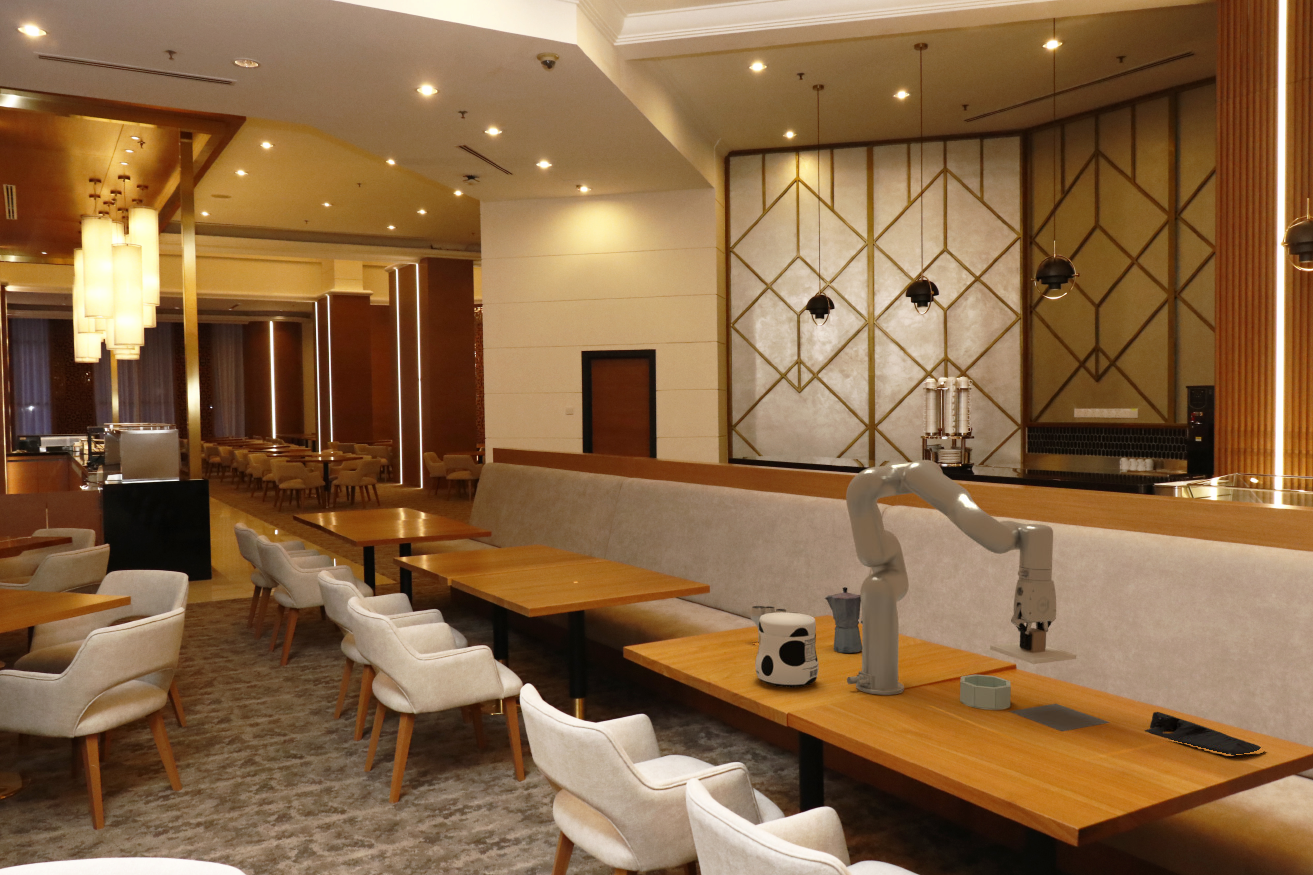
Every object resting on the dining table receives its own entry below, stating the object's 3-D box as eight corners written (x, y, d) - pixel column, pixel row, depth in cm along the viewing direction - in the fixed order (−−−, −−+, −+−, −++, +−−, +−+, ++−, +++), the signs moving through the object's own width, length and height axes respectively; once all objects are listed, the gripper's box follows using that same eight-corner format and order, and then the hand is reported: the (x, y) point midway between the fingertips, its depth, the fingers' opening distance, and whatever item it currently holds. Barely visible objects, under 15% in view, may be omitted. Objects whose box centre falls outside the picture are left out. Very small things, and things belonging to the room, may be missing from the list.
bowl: (984, 714, 227) (985, 690, 227) (950, 700, 238) (950, 677, 238) (1020, 708, 232) (1021, 684, 232) (985, 695, 243) (985, 672, 243)
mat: (1061, 733, 213) (1061, 731, 213) (1009, 713, 228) (1009, 711, 228) (1110, 724, 220) (1110, 722, 220) (1055, 705, 235) (1055, 703, 235)
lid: (1033, 663, 218) (1034, 638, 218) (990, 649, 231) (990, 625, 231) (1076, 658, 224) (1077, 634, 224) (1031, 645, 237) (1032, 621, 237)
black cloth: (1227, 765, 196) (1227, 743, 196) (1136, 732, 216) (1136, 712, 216) (1273, 755, 202) (1274, 733, 202) (1181, 724, 222) (1181, 705, 222)
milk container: (752, 673, 263) (753, 610, 262) (813, 674, 262) (814, 611, 262) (757, 691, 245) (758, 624, 245) (822, 692, 245) (823, 625, 245)
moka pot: (823, 645, 296) (824, 583, 296) (872, 647, 294) (873, 585, 294) (824, 653, 287) (825, 589, 287) (875, 655, 285) (876, 590, 284)
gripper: (1021, 579, 220) (1019, 654, 221) (1072, 575, 227) (1069, 648, 228) (998, 573, 227) (995, 647, 228) (1047, 570, 234) (1045, 641, 235)
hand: (1032, 647), depth 228 cm, fingers closed on lid, 4 cm apart
